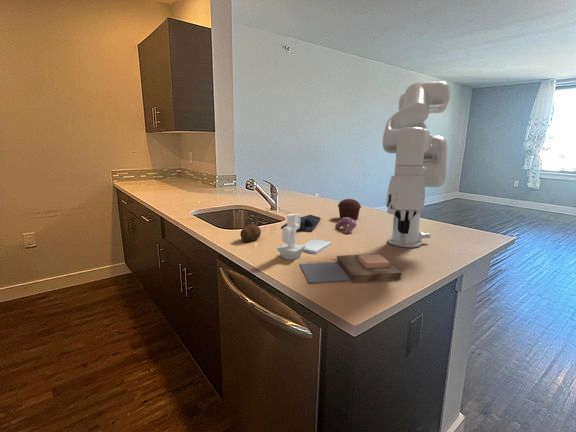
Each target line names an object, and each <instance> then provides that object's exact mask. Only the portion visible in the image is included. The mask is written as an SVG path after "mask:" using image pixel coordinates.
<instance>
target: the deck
mask: <svg viewBox="0 0 576 432" xmlns="http://www.w3.org/2000/svg"><path fill="white" fill-rule="evenodd" d="M375 254H376V253H369V254H368V253H367V254H365V253H364V254H363V255H375ZM358 255H359V254H349V255H348V254H345V255H336V262H337V263H338V264H339V266H340V267H341V268H342V269H343V271H344V272H345V273H346V274H347V275H348V277H349V278H350V279H351V281H352V282H353V283H362V282H363V283H364V282H365V283H366V282H376V281H377V282H378V281H379V282H380V281H391V280H392V281H394V280H401V279H402V271H400V270H398V269H397V268H396V267H395V266H393V265H392V264H391V263H390V262H389V267H381V268H366V267H365V266H364V265H363V264H362V263H361V262H360V261H359V260H358Z"/></svg>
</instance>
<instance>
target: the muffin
mask: <svg viewBox="0 0 576 432" xmlns="http://www.w3.org/2000/svg"><path fill="white" fill-rule="evenodd" d="M337 207H338V211H339V212H338V213H339V220H341V219H342V218H343V217H345V218H346V217H349V218H352V219H353V220H354V221H357V220H358V219H359V215H360V210H361V208H362V205H361V203H359V202H358V201H357V200H356V199H354V198H345V199H343V200H341V201H339V202H338V204H337Z"/></svg>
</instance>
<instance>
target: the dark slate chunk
mask: <svg viewBox="0 0 576 432" xmlns="http://www.w3.org/2000/svg"><path fill="white" fill-rule="evenodd" d="M320 222H321V217H320V216H317V215H313V214H307V215H304V216H300V228H299V229H298V230H296V232H301V233H302V232H305V233H307V232H308V233H312V232H313V230H315V229H316V227H317V226H318V224H319V223H320ZM285 226H287V223H285V224H283V225H282V226H281V227H280V228H281V229H283V228H284V227H285Z"/></svg>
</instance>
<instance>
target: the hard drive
mask: <svg viewBox="0 0 576 432" xmlns="http://www.w3.org/2000/svg"><path fill="white" fill-rule="evenodd" d="M302 245H305V248H304V250H303V252H304V253H309V254H312V255H313V254H314V255H317V254H319V253H321V252H322V251H324V250H325V249H327V248H329V246H332V242H331V241H329V240H328V241H327V240H322V239H315V238H312V239H310V240H308V241H306V242H305V243H303V244H302ZM303 252H302V253H303Z"/></svg>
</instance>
